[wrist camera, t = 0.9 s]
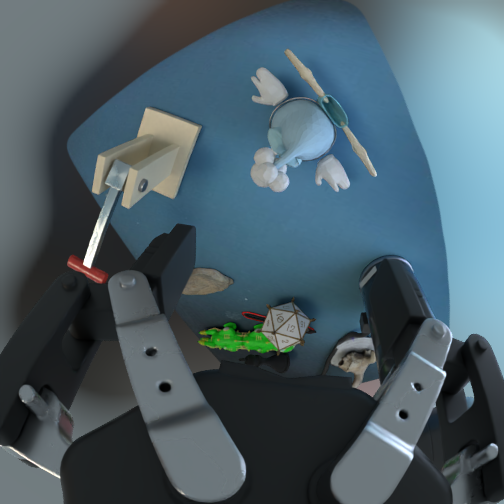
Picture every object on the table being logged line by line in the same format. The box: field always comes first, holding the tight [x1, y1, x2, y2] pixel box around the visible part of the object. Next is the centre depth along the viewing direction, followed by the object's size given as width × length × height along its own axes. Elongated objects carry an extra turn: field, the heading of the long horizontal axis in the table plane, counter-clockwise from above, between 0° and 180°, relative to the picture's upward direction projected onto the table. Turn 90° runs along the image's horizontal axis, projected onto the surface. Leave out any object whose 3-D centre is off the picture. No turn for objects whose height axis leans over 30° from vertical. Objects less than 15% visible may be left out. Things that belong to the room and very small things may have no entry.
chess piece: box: [239, 352, 290, 373], centre depth 51 cm, size 4×4×10 cm
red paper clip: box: [242, 312, 316, 334], centre depth 50 cm, size 2×14×1 cm, turn 77°
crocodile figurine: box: [198, 322, 295, 353], centre depth 51 cm, size 7×18×4 cm, turn 95°
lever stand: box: [92, 107, 202, 209], centre depth 31 cm, size 11×8×13 cm
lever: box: [68, 159, 132, 283], centre depth 28 cm, size 13×5×2 cm, turn 156°
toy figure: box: [251, 49, 377, 192], centre depth 27 cm, size 17×10×15 cm, turn 38°
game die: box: [256, 297, 316, 356], centre depth 45 cm, size 9×8×10 cm
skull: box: [330, 336, 376, 388], centre depth 50 cm, size 10×12×6 cm
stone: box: [182, 268, 233, 295], centre depth 47 cm, size 13×3×5 cm
